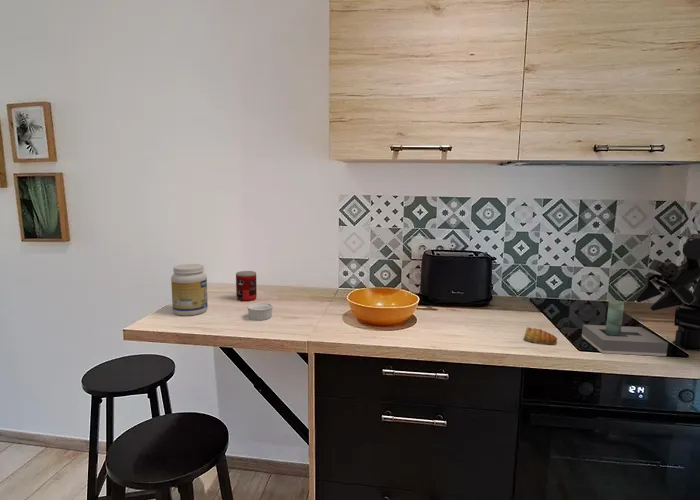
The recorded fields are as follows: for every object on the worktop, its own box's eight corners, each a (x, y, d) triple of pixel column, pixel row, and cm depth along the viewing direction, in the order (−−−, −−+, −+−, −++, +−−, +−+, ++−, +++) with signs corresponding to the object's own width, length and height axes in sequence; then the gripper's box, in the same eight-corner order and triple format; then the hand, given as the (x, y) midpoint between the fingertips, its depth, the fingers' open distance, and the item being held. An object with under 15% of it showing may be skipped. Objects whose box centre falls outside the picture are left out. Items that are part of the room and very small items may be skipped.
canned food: (235, 297, 184) (235, 271, 182) (255, 296, 187) (255, 270, 185) (237, 302, 177) (236, 275, 175) (257, 301, 179) (257, 274, 178)
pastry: (557, 341, 142) (558, 329, 141) (555, 348, 136) (556, 336, 135) (526, 335, 146) (527, 324, 146) (522, 342, 141) (523, 330, 140)
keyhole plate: (639, 339, 144) (641, 327, 144) (666, 356, 130) (668, 343, 130) (581, 336, 146) (582, 324, 145) (601, 353, 132) (603, 340, 131)
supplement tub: (210, 314, 162) (208, 268, 159) (174, 318, 156) (171, 270, 154) (205, 305, 172) (203, 262, 170) (171, 308, 167) (169, 264, 164)
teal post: (612, 340, 140) (617, 299, 138) (622, 344, 137) (627, 303, 134) (601, 340, 140) (605, 300, 138) (611, 345, 136) (615, 303, 134)
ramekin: (249, 322, 154) (249, 310, 153) (245, 315, 162) (245, 303, 161) (275, 320, 157) (275, 308, 156) (270, 312, 165) (270, 301, 164)
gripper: (655, 246, 140) (613, 278, 144) (689, 256, 122) (639, 293, 126) (679, 272, 140) (636, 304, 144) (717, 286, 122) (666, 322, 126)
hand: (643, 305), depth 135 cm, fingers open, 9 cm apart
